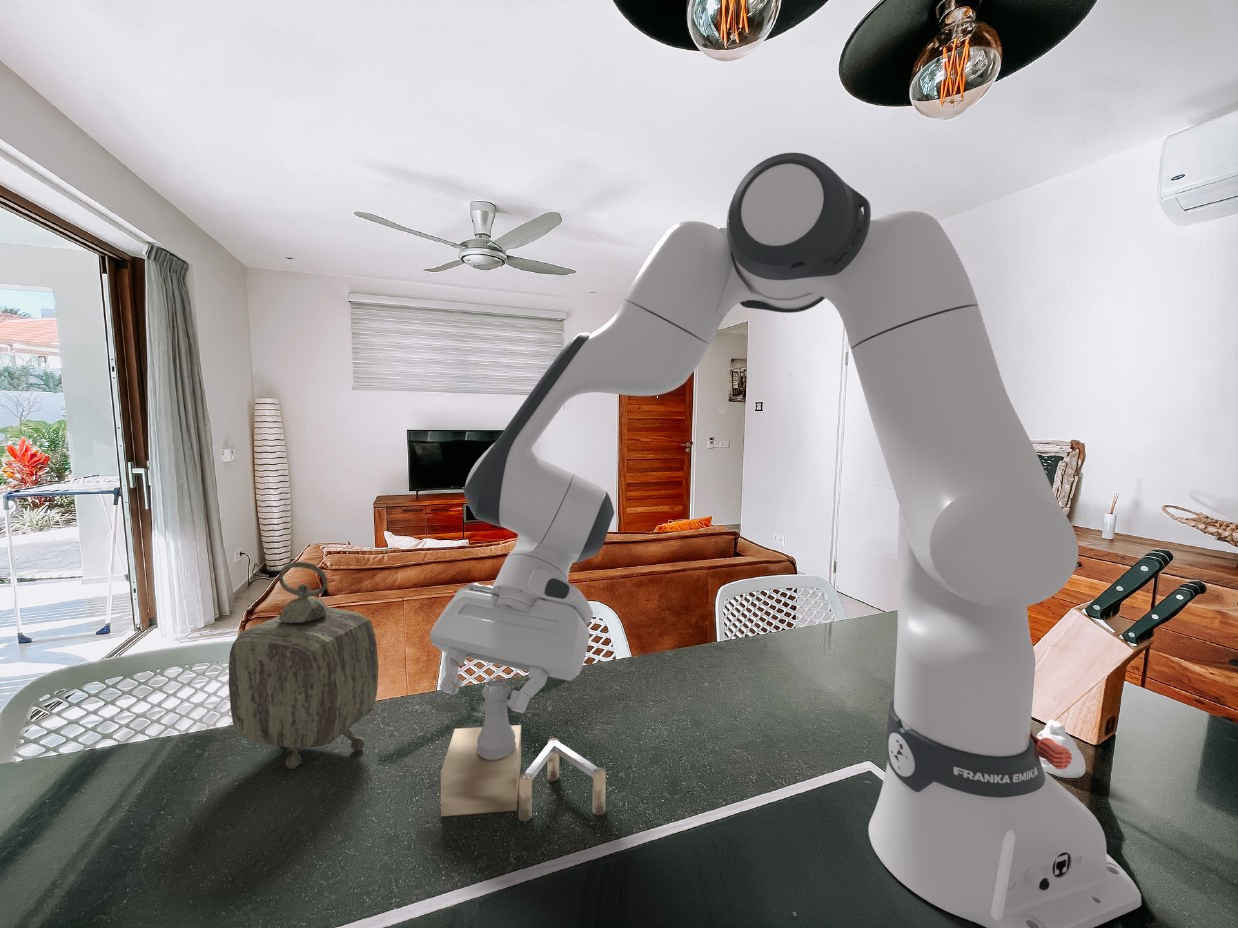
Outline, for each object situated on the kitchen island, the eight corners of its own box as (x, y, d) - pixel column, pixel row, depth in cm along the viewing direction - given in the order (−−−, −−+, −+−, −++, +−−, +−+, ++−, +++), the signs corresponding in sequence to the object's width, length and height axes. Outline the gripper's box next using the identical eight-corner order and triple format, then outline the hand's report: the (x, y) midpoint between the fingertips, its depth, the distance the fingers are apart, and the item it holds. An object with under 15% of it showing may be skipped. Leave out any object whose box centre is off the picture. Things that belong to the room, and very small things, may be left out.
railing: (599, 769, 64) (600, 734, 63) (605, 814, 56) (606, 775, 56) (522, 775, 63) (522, 739, 62) (518, 821, 55) (518, 781, 55)
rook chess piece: (506, 765, 57) (506, 695, 56) (469, 759, 58) (468, 690, 57) (522, 741, 61) (522, 675, 61) (487, 736, 62) (486, 671, 61)
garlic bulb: (1021, 709, 68) (1066, 712, 68) (1018, 752, 69) (1062, 755, 68) (1052, 733, 63) (1101, 737, 62) (1048, 780, 63) (1096, 784, 63)
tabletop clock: (380, 744, 68) (376, 558, 66) (327, 791, 59) (321, 578, 57) (288, 728, 71) (282, 550, 69) (225, 771, 62) (216, 568, 61)
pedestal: (521, 763, 65) (521, 724, 64) (516, 810, 57) (516, 766, 57) (455, 767, 64) (454, 728, 63) (441, 816, 56) (440, 772, 56)
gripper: (451, 569, 69) (395, 672, 61) (589, 590, 61) (546, 711, 53) (473, 592, 73) (424, 691, 65) (604, 614, 66) (567, 730, 57)
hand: (480, 700), depth 59 cm, fingers open, 8 cm apart
